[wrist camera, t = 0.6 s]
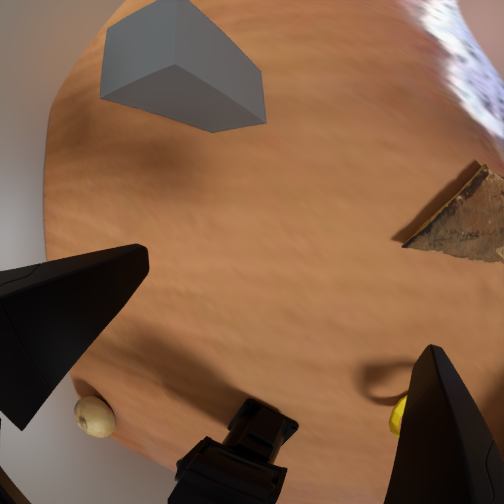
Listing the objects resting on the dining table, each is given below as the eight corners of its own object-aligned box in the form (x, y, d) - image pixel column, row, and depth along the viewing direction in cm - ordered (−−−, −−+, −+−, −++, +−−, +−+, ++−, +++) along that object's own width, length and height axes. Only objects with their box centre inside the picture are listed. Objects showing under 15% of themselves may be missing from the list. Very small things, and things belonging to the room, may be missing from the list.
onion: (126, 432, 40) (102, 454, 33) (97, 415, 42) (73, 434, 36) (115, 400, 38) (86, 422, 31) (85, 384, 41) (57, 402, 34)
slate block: (266, 123, 22) (174, 64, 10) (212, 133, 24) (99, 98, 12) (261, 71, 21) (177, -9, 9) (209, 83, 23) (107, 28, 11)
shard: (398, 244, 21) (402, 248, 19) (408, 149, 19) (413, 145, 17) (504, 264, 17) (513, 269, 16) (516, 176, 16) (525, 176, 14)
